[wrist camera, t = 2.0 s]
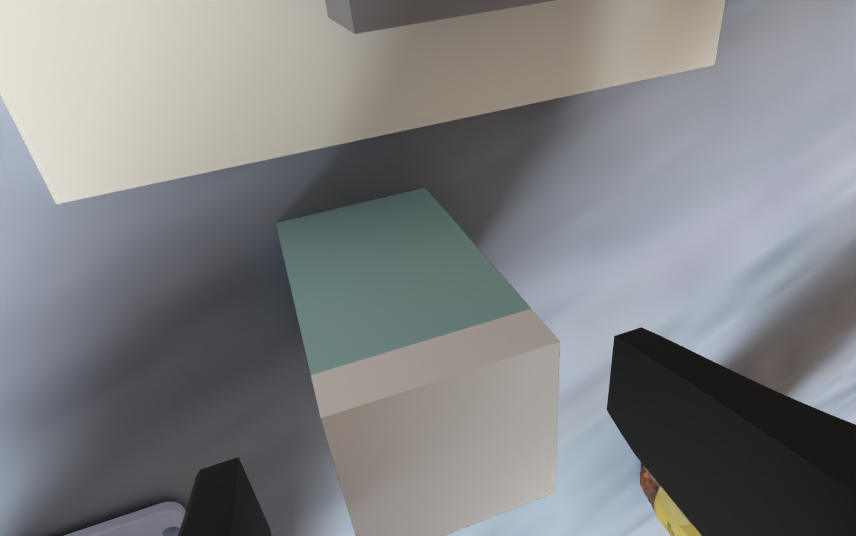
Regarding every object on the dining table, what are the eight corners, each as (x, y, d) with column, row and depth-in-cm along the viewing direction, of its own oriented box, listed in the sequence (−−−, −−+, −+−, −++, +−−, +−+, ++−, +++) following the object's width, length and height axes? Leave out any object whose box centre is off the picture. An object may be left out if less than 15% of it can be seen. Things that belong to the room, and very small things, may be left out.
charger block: (438, 307, 17) (554, 492, 11) (310, 344, 16) (364, 566, 10) (425, 187, 15) (559, 341, 9) (275, 223, 14) (321, 418, 8)
